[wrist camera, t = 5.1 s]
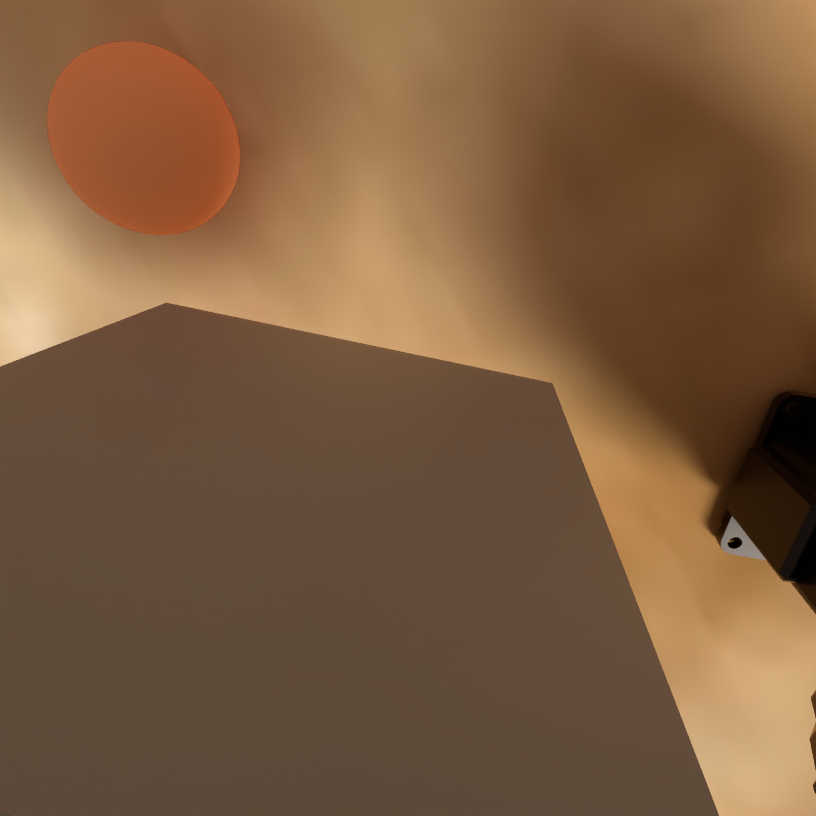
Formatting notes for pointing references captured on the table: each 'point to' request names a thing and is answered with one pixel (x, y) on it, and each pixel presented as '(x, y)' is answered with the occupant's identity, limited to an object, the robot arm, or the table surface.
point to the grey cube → (312, 589)
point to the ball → (143, 137)
